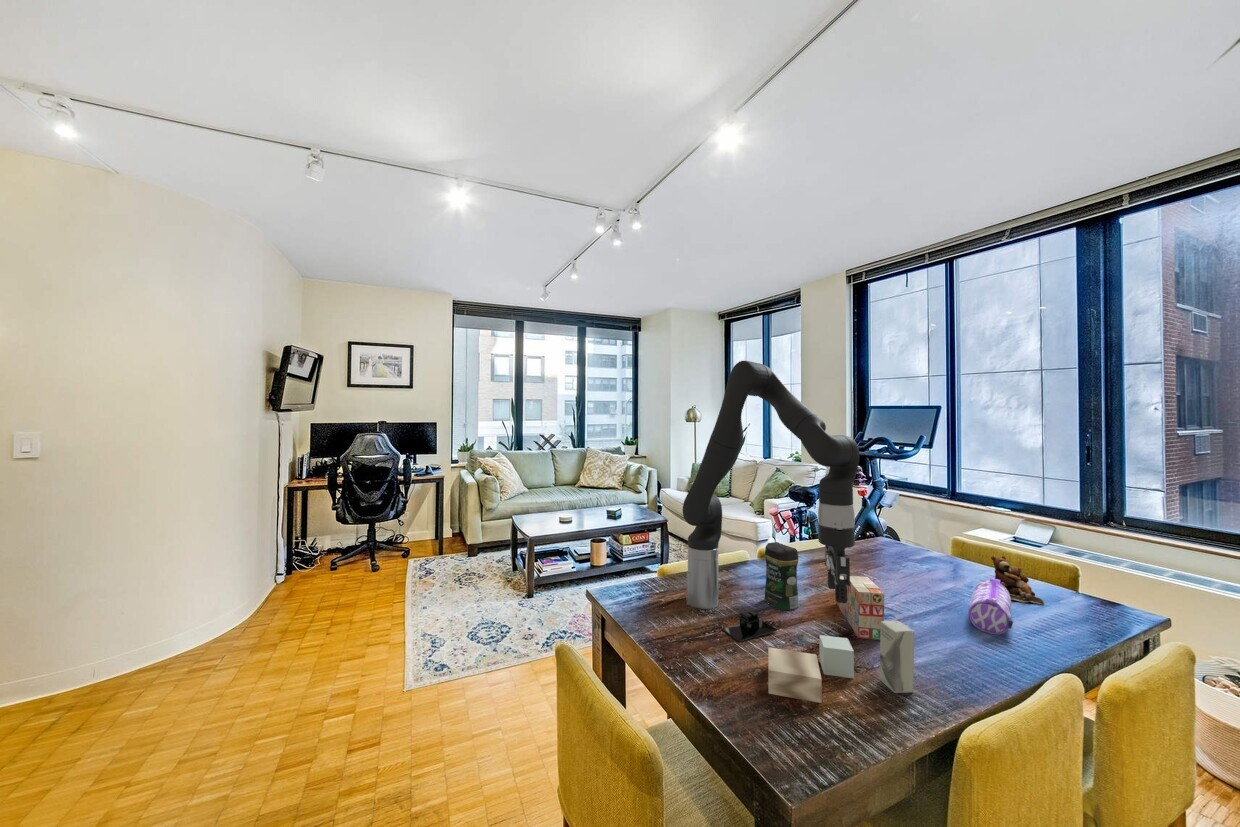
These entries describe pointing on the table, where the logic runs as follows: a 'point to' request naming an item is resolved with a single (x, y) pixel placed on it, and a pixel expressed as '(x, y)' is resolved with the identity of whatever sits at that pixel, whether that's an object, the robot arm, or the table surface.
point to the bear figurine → (1014, 581)
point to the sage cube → (836, 656)
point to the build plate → (749, 627)
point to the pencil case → (991, 607)
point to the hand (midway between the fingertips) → (837, 595)
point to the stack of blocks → (864, 607)
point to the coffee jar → (781, 576)
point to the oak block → (794, 675)
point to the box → (897, 656)
